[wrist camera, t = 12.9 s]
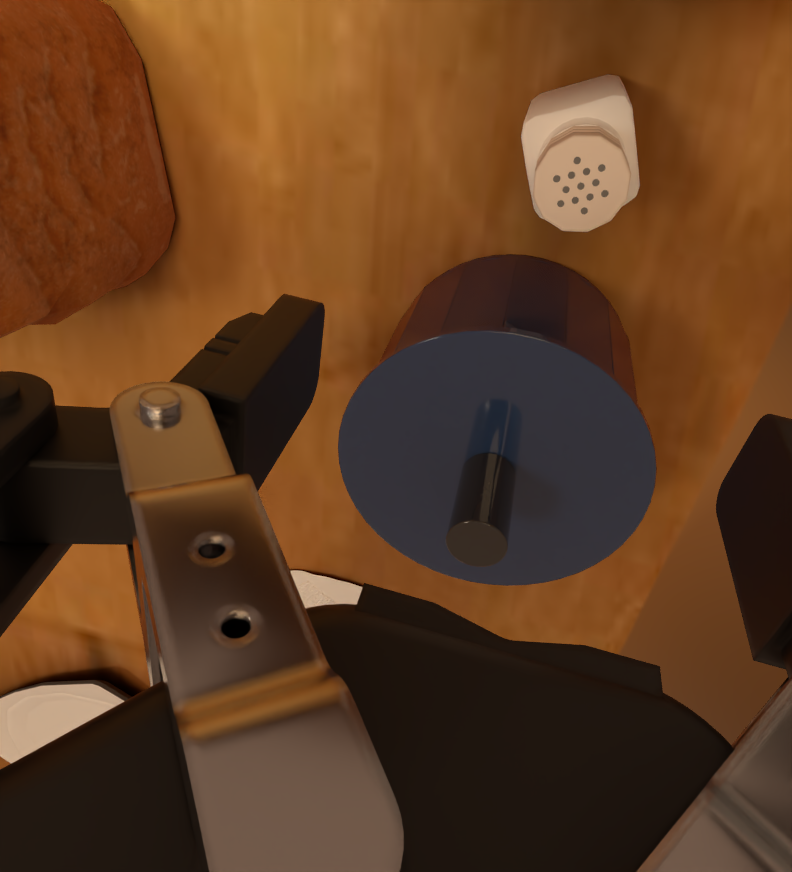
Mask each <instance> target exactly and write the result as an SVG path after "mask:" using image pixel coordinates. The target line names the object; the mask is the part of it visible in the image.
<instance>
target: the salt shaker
mask: <svg viewBox="0 0 792 872" xmlns="http://www.w3.org/2000/svg"><path fill="white" fill-rule="evenodd" d="M521 140H522V147H523V153H524V159H525V165H526V171H527V177H528V182H529V187H530V193H531V198H532V202H533V207H534V210H535V212H536V213H537V214H538V215H539V217H540V218H542V219H545V220H546V221H548V222H549V223H551V224H553V225H554V226H556V227H557V228H559V229H560V230H562V231H573V232H589V231H591V230H593V229H595V228H597V227H599V226H601V225H603V224H605V223H607V222H609V221H611V220H612V219H613V217H614V216H615V215H616V213H617V212H618V211H619V209H620V208H621V207H622V206H624V205H625V204H627V203H628V202H630V201H631V200H632V199H634V198H635V197H636V195H637V192H638V190H639V187H640V180H639V168H638V157H637V147H636V137H635V127H634V118H633V108H632V105H631V102H630V99H629V97H628V94H627V92H626V89H625V86H624V84H623V83H622V81H621V79H620V77H619V76H616V75H609V74H607V75H604V76H600V77H596V78H593V79H589V80H586V81H582V82H579V83H575V84H572V85H568V86H565V87H561V88H558V89H554V90H551V91H547V92H544V93H540V94H539V95H538V96H536V97H535V98H534V99H533V100H531V103H530V106H529V109H528V112H527V114H526V117H525V120H524V124H523V128H522V133H521Z"/></svg>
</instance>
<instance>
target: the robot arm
mask: <svg viewBox="0 0 792 872" xmlns="http://www.w3.org/2000/svg"><path fill="white" fill-rule="evenodd" d="M324 316H325V310H324V305H323V303H320V302H316V301H312V300H308V299H304V298H299V297H295V296H291V295H287V294H283V295H282V296H281V297H280V298H279V299H278V300H277V301H276V302H275V303H274V305H273V306H272V307H271V308H270V309H269V310H268V311H267V312H266V313H265V314H264V315H260V314H256V313H252V312H251V313H249V314H246V315H244V316H241V317H239V318H236V319H234V320H232V321H229V322H228V323H227V324H226V325H225V326H224V327H223V328H222V329H221V330H220V331H219V332H218V333H217V334H216V335H215V338H212V339H211V340H210V341H209V342H208V343H207V344H206V345H205V347H204V350H203V349H201V350H200V351H199V352H198V353H197V354H196V355H195V356H194V357H193V358H192V359H191V360H190V361H189V362H188V364H187V365H186V366H185V367H184V368H183V369H182V370H181V371H180V372H179V373H178V374H177V375H176V376H175V377H174V378H173V379H172V380H171V381H170V382H150V383H144V384H140V385H136V386H133V387H131V388H128V389H127V390H125V391H123V392H121V393H120V394H119V395H117V396H116V397H115V398H114V400H113V401H112V403H111V405H110V408H93V407H73V406H55V401H54V396H53V390H52V388H51V386H50V385H49V384H48V383H47V382H46V381H45V380H43V379H42V378H40V377H37V376H35V375H32V374H28V373H22V372H12V371H7V372H0V637H1V635H2V634H3V633H4V632H5V630H6V629H7V628H8V626H9V625H10V624H11V623H12V621H13V620H14V619H15V617H16V616H17V615H18V614H19V612H20V611H21V610H22V608H23V607H24V606H25V605H26V603H27V602H28V601H29V599H30V598H31V597H32V596H33V594H34V593H35V592H36V590H37V589H38V588H39V587H40V585H41V584H42V583H43V581H44V580H45V579H46V578H47V576H48V575H49V574H50V572H51V571H52V570H53V569H54V567H55V566H56V565H57V563H58V562H59V561H60V560H61V558H62V557H63V556H64V554H65V553H66V552H67V551H68V549H69V548H70V547H71V545H72V544H126V548H127V553H128V559H129V564H130V569H131V575H132V580H133V585H134V591H135V596H136V602H137V607H138V612H139V618H140V623H141V628H142V634H143V640H144V646H145V652H146V659H147V666H148V673H149V679H150V685H151V687H150V688H148V689H146V690H144V691H142V692H141V693H139V694H137V695H135V696H133V697H131V698H130V699H128V700H126V701H124V702H122V703H121V704H119V705H117V706H115V707H113V708H111V709H110V710H108V711H106V712H104V713H102V714H100V715H99V716H97V717H95V718H93V719H91V720H90V721H88V722H86V723H84V724H82V725H80V726H79V727H77V728H75V729H73V730H71V731H70V732H68V733H66V734H64V735H62V736H60V737H59V738H57V739H55V740H53V741H51V742H50V743H48V744H46V745H44V746H42V747H40V748H39V749H37V750H35V751H33V752H31V753H30V754H28V755H26V756H24V757H22V758H20V759H19V760H17V761H15V762H13V763H11V764H10V765H8V766H6V767H4V768H2V769H0V872H792V419H789V418H785V417H780V416H777V415H773V414H767V415H765V416H763V417H762V418H761V419H760V420H759V421H758V423H757V424H756V426H755V427H754V429H753V431H752V432H751V434H750V436H749V437H748V439H747V441H746V443H745V444H744V446H743V448H742V449H741V451H740V453H739V455H738V456H737V458H736V460H735V461H734V463H733V465H732V467H731V468H730V470H729V471H728V473H727V475H726V477H725V478H724V480H723V482H722V484H721V487H720V489H719V493H718V497H717V504H716V513H717V517H718V522H719V526H720V529H721V533H722V538H723V541H724V545H725V549H726V553H727V557H728V561H729V565H730V569H731V573H732V577H733V581H734V585H735V589H736V593H737V597H738V601H739V605H740V609H741V613H742V617H743V621H744V625H745V629H746V633H747V637H748V641H749V645H750V649H751V653H752V657H753V660H754V661H758V662H762V663H765V664H768V665H772V666H776V667H779V668H783V669H786V671H787V674H788V678H787V679H786V680H785V681H784V682H783V684H782V685H781V686H780V687H779V688H778V689H777V691H776V692H775V693H774V694H773V695H772V697H771V698H770V699H769V700H768V701H767V703H766V704H765V705H764V706H763V708H762V709H761V710H760V711H759V712H758V713H757V715H756V716H755V717H754V718H753V720H752V721H751V722H750V723H749V724H748V726H747V727H746V728H745V729H744V730H743V732H742V733H741V734H740V735H739V736H738V738H737V739H736V740H735V741H734V743H733V744H732V745H730V744H729V742H728V741H727V740H726V739H725V738H724V737H723V736H722V735H721V734H720V733H719V732H717V731H716V730H715V729H714V728H713V727H712V726H711V725H709V724H708V723H707V722H706V721H705V720H704V719H702V718H701V717H700V716H698V715H697V714H696V713H694V712H693V711H692V710H690V709H689V708H688V707H686V706H684V705H683V704H681V703H680V702H678V701H677V700H675V699H673V698H672V697H670V696H668V695H666V694H664V693H663V691H662V682H661V674H660V667H659V666H657V665H653V664H649V663H646V662H642V661H638V660H635V659H632V658H628V657H624V656H621V655H618V654H614V653H610V652H607V651H603V650H600V649H596V648H593V647H589V646H586V645H572V644H556V643H540V642H524V641H512V640H508V639H504V638H502V637H500V636H498V635H496V634H494V633H492V632H490V631H488V630H486V629H484V628H482V627H480V626H478V625H476V624H474V623H472V622H471V621H469V620H467V619H465V618H463V617H461V616H459V615H457V614H455V613H453V612H451V611H449V610H447V609H445V608H443V607H441V606H440V605H438V604H436V603H433V602H429V601H426V600H422V599H419V598H415V597H412V596H408V595H405V594H401V593H397V592H394V591H390V590H387V589H383V588H380V587H376V586H373V585H369V584H366V583H364V585H363V588H362V591H361V594H360V596H359V599H358V602H357V604H330V605H321V606H315V607H309V608H305V606H304V604H303V602H302V599H301V597H300V594H299V592H298V589H297V587H296V584H295V582H294V579H293V577H292V575H291V572H290V570H289V567H288V565H287V562H286V560H285V557H284V555H283V553H282V550H281V548H280V545H279V543H278V540H277V538H276V535H275V533H274V531H273V528H272V526H271V523H270V521H269V518H268V516H267V513H266V511H265V509H264V506H263V504H262V501H261V499H260V496H259V494H258V490H259V488H260V487H261V485H262V484H263V482H264V480H265V479H266V477H267V475H268V474H269V472H270V471H271V469H272V467H273V466H274V464H275V462H276V461H277V459H278V457H279V456H280V454H281V453H282V451H283V449H284V448H285V446H286V444H287V443H288V441H289V440H290V438H291V436H292V435H293V433H294V431H295V430H296V428H297V426H298V425H299V423H300V422H301V420H302V418H303V417H304V415H305V413H306V412H307V410H308V409H309V407H310V405H311V403H312V400H313V397H314V394H315V391H316V387H317V383H318V377H319V367H320V357H321V347H322V337H323V327H324Z"/></svg>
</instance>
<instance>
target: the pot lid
mask: <svg viewBox="0 0 792 872" xmlns="http://www.w3.org/2000/svg"><path fill="white" fill-rule="evenodd" d="M338 453H339V464H340V468H341V473H342V477H343V480H344V483H345V486H346V488H347V491H348V493H349V495H350V497H351V499H352V501H353V503H354V505H355V506H356V508H357V510H358V511H359V512H360V514H361V515H362V516H363V518H364V519H365V521H366V522H367V523H368V524H369V525H370V526H371V527H372V528H373V530H374V531H375V532H376V533H377V534H378V535H379V536H380V537H382V538H383V539H384V540H385V541H386V542H387V543H388V544H390V545H391V546H392V547H394V548H395V549H396V550H398V551H399V552H401V553H402V554H403V555H405V556H407V557H408V558H410V559H412V560H414V561H415V562H417V563H419V564H421V565H423V566H425V567H428V568H430V569H432V570H434V571H437V572H439V573H442V574H445V575H448V576H451V577H454V578H458V579H462V580H466V581H470V582H476V583H483V584H490V585H506V586H508V585H529V584H537V583H544V582H549V581H553V580H557V579H562V578H564V577H567V576H570V575H573V574H576V573H579V572H581V571H583V570H585V569H587V568H589V567H591V566H594V565H595V564H597V563H598V562H600V561H602V560H603V559H605V558H606V557H608V556H609V555H611V554H612V553H613V552H614V551H615V550H617V549H618V548H619V547H620V546H621V545H623V543H624V542H625V541H626V540H627V539H628V538H629V537H630V536H631V535H632V534H633V532H634V531H635V530H636V528H637V527H638V525H639V524H640V522H641V521H642V519H643V517H644V515H645V513H646V511H647V509H648V507H649V504H650V502H651V498H652V495H653V491H654V487H655V479H656V457H655V448H654V443H653V439H652V435H651V432H650V428H649V425H648V423H647V421H646V419H645V416H644V414H643V412H642V410H641V408H640V407H639V405H638V404H637V402H636V400H635V399H634V397H633V396H632V394H631V393H630V392H629V391H628V389H627V388H626V387H625V386H624V385H623V384H622V383H621V382H620V380H619V379H618V378H617V377H616V376H615V375H614V374H612V373H611V372H610V371H609V370H608V369H606V368H605V367H604V366H603V365H602V364H601V363H599V362H598V361H596V360H595V359H593V358H592V357H590V356H589V355H587V354H585V353H584V352H582V351H581V350H579V349H577V348H575V347H572V346H570V345H568V344H566V343H564V342H562V341H560V340H557V339H554V338H551V337H548V336H545V335H542V334H539V333H536V332H531V331H526V330H521V329H516V328H508V327H497V326H476V327H463V328H457V329H450V330H444V331H441V332H438V333H434V334H431V335H427V336H424V337H422V338H419V339H417V340H415V341H412V342H410V343H408V344H406V345H404V346H402V347H401V348H399V349H397V350H396V351H394V352H392V353H391V354H389V355H388V356H386V357H385V358H384V359H383V360H382V361H380V362H379V363H378V364H377V365H376V366H374V367H373V368H372V370H371V371H370V372H369V373H368V374H367V375H366V376H365V377H364V379H363V380H362V381H361V382H360V384H359V386H358V387H357V389H356V390H355V392H354V393H353V395H352V397H351V399H350V401H349V403H348V405H347V408H346V410H345V412H344V415H343V418H342V422H341V426H340V430H339V441H338Z"/></svg>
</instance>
